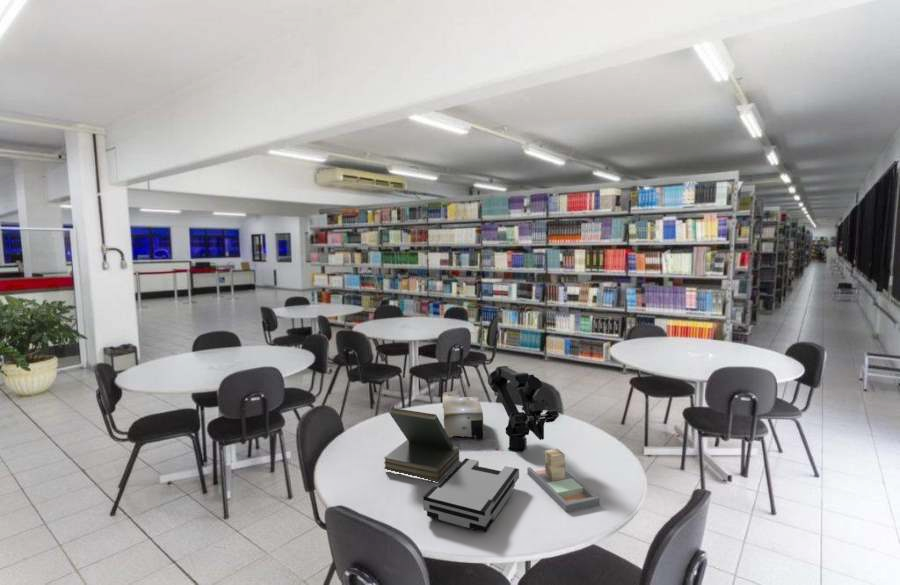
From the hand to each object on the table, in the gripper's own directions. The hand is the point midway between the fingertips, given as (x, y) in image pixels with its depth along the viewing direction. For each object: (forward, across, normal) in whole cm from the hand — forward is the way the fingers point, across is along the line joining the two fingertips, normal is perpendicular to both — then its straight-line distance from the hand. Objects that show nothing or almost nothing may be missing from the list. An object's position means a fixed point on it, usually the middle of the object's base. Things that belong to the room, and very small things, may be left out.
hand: (542, 439), depth 175 cm
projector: (-27, -17, +45) cm, 55 cm away
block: (+14, 0, 0) cm, 14 cm away
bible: (-4, -42, +23) cm, 48 cm away
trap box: (+18, 0, -1) cm, 19 cm away
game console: (+18, -32, +1) cm, 36 cm away
